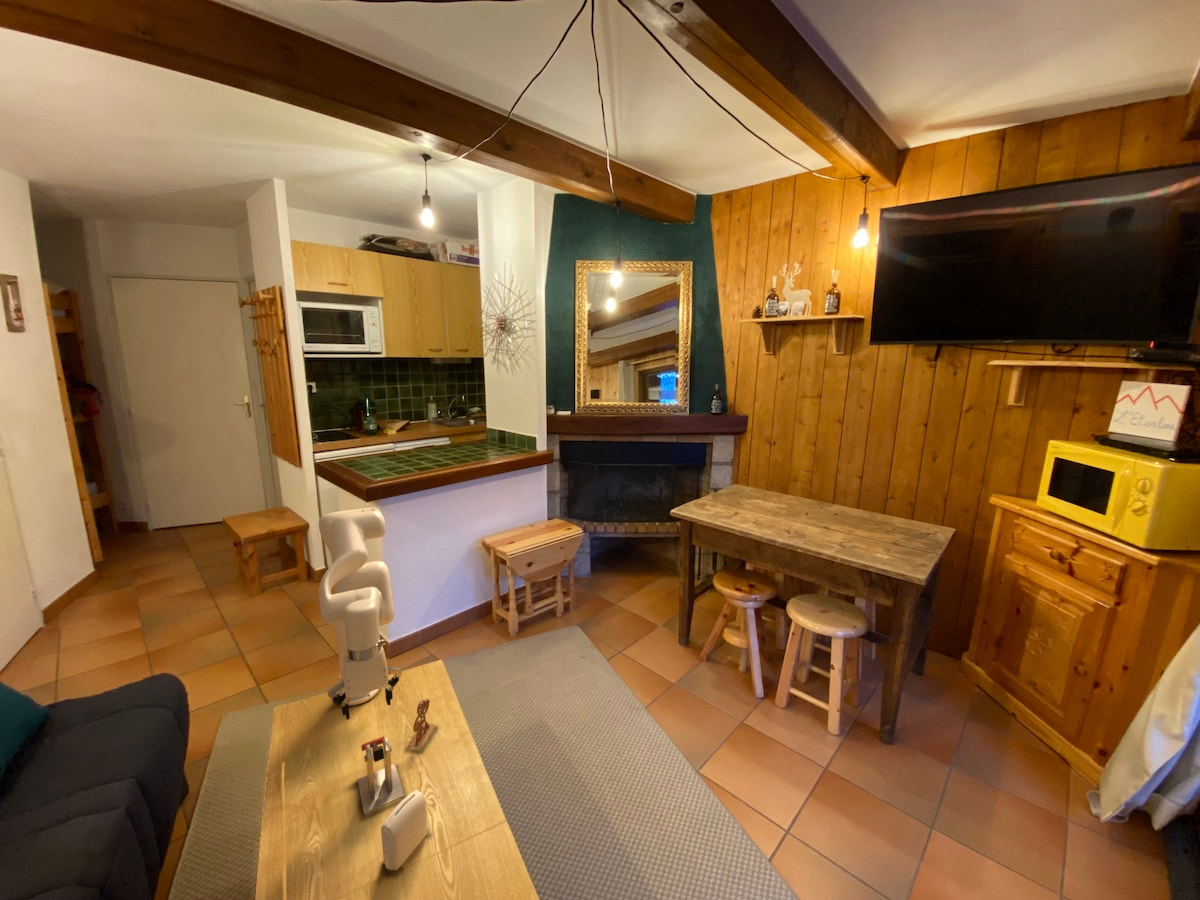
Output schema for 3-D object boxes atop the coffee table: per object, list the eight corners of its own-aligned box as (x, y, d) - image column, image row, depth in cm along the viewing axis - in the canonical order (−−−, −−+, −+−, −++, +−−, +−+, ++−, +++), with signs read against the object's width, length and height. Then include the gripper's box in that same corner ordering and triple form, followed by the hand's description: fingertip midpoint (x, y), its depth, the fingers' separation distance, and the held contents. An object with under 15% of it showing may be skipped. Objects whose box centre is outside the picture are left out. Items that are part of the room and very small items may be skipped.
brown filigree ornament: (420, 751, 132) (419, 714, 130) (407, 749, 133) (405, 712, 131) (436, 727, 141) (435, 692, 139) (424, 725, 142) (422, 690, 139)
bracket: (357, 783, 122) (354, 740, 120) (395, 767, 127) (392, 725, 125) (364, 817, 113) (360, 771, 111) (404, 799, 118) (401, 755, 116)
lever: (361, 752, 125) (360, 742, 126) (384, 743, 128) (383, 733, 129) (367, 765, 115) (365, 754, 116) (391, 755, 118) (390, 745, 119)
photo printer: (395, 877, 101) (392, 829, 98) (380, 868, 102) (377, 820, 100) (430, 834, 110) (428, 789, 108) (416, 826, 112) (414, 781, 109)
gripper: (397, 632, 128) (400, 689, 132) (323, 652, 119) (328, 712, 122) (403, 646, 122) (406, 705, 125) (325, 668, 113) (331, 731, 116)
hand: (368, 709), depth 124 cm, fingers open, 9 cm apart
